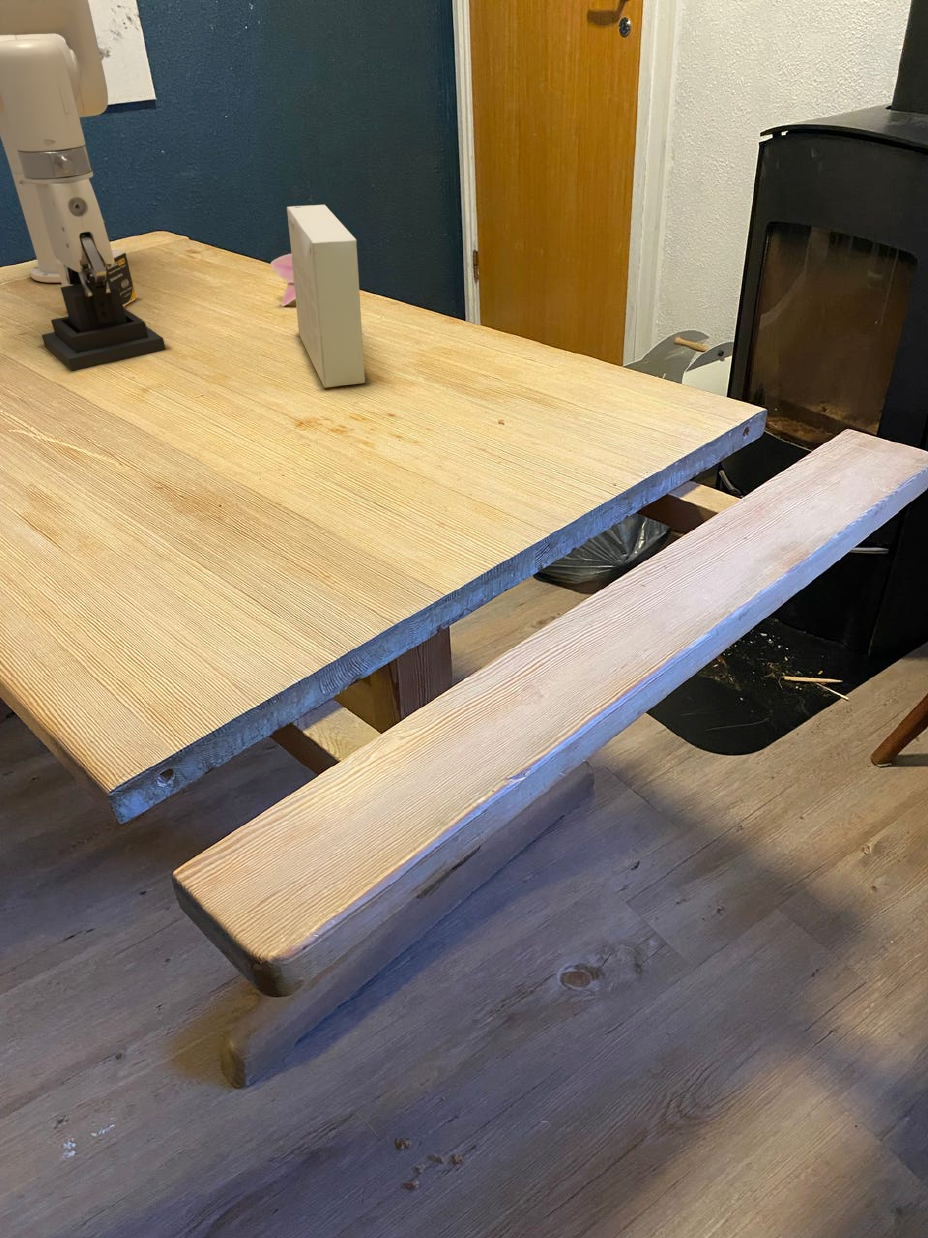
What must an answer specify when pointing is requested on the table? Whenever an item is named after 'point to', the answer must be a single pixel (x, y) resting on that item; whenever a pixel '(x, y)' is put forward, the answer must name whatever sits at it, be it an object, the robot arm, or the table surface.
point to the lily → (285, 276)
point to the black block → (79, 311)
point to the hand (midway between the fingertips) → (97, 319)
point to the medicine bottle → (112, 275)
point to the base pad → (101, 342)
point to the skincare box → (327, 294)
